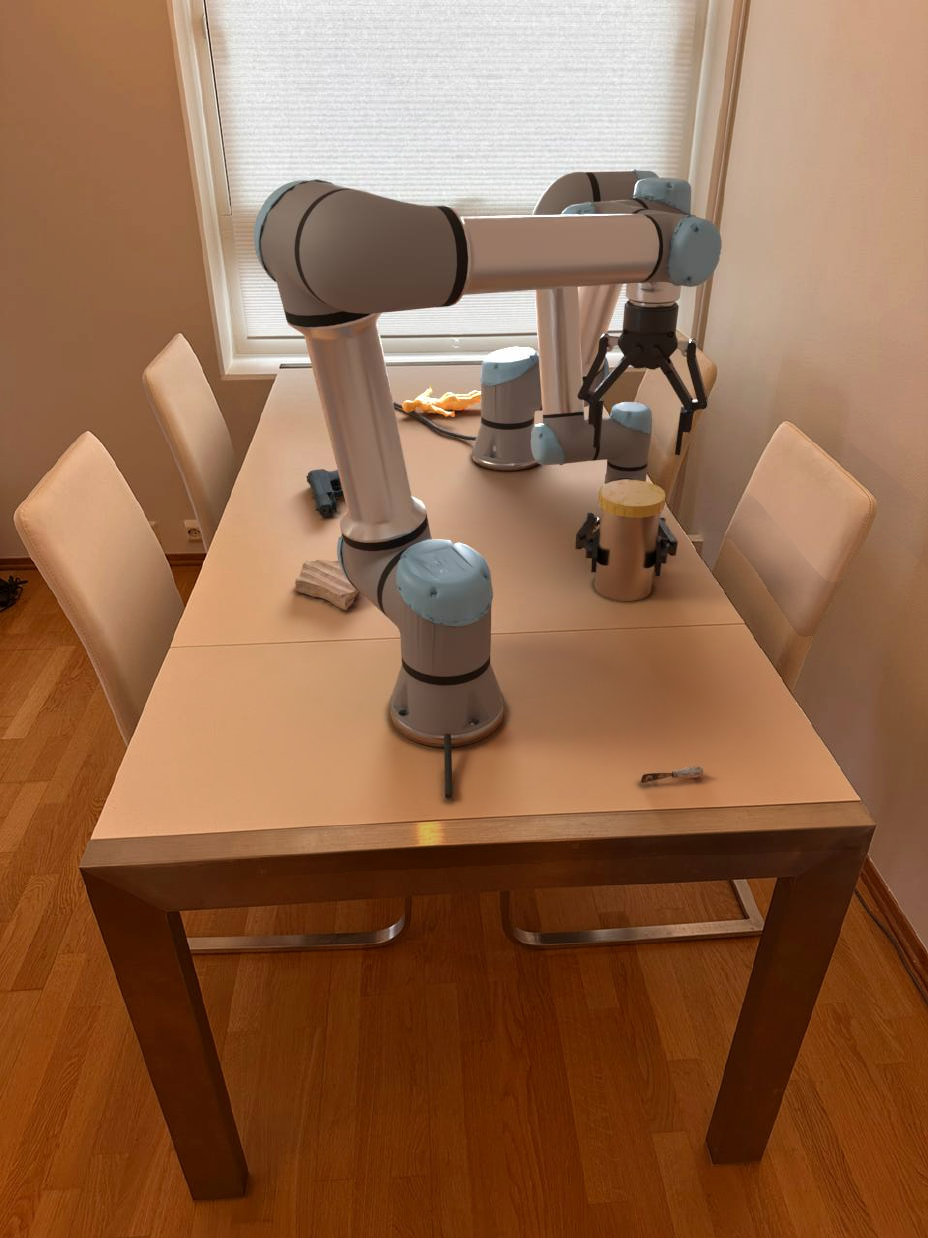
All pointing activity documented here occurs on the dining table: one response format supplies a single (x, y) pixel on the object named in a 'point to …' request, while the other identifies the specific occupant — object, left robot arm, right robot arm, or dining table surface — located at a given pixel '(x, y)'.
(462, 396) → the human figure
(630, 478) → the right robot arm
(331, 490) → the handgun
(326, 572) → the stone
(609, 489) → the lid
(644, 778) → the putty knife
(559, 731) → the dining table surface
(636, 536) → the jar
